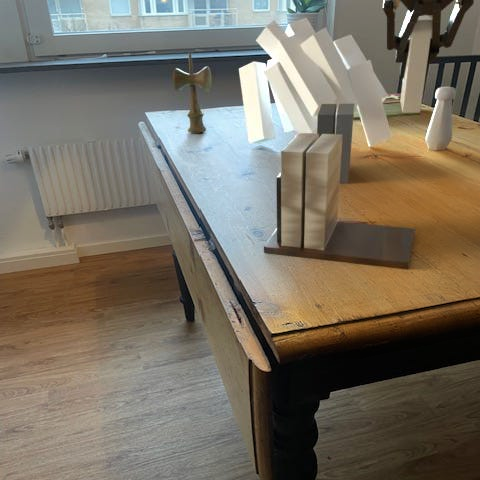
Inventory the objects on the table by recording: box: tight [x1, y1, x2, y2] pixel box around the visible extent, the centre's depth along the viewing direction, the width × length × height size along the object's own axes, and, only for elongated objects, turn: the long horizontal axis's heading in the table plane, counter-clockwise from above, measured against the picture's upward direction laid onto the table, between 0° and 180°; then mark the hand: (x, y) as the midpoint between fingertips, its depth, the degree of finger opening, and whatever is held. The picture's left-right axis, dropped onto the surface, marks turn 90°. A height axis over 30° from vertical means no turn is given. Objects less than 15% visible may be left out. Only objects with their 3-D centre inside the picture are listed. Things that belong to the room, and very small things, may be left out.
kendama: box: [172, 52, 212, 134], centre depth 136 cm, size 6×10×20 cm, turn 80°
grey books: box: [316, 104, 354, 185], centre depth 101 cm, size 6×10×13 cm, turn 168°
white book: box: [400, 15, 432, 114], centre depth 88 cm, size 3×10×14 cm, turn 167°
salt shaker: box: [425, 86, 457, 152], centre depth 113 cm, size 6×6×13 cm
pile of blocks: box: [238, 17, 393, 147], centre depth 123 cm, size 35×30×35 cm
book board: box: [263, 132, 416, 270], centre depth 73 cm, size 21×12×15 cm, turn 70°
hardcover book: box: [353, 92, 421, 120], centre depth 149 cm, size 12×21×4 cm, turn 95°
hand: (412, 71), depth 92 cm, fingers closed on white book, 3 cm apart
